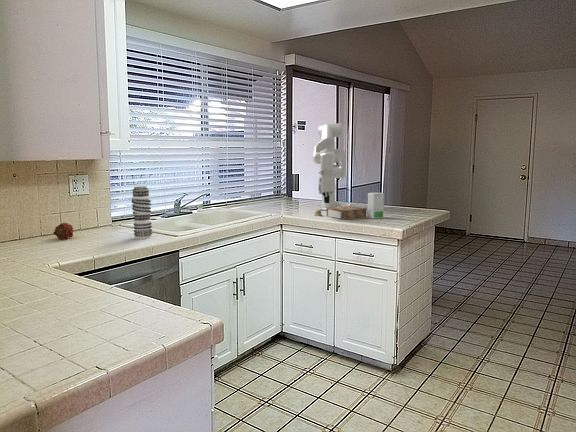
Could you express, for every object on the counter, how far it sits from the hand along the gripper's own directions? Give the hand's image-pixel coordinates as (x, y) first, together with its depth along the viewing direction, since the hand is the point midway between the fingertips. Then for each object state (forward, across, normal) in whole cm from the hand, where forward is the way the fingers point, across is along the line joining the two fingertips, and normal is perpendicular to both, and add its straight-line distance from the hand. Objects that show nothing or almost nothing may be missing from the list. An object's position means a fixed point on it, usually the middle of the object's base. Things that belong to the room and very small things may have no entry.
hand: (326, 202), depth 282 cm
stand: (+10, +2, +13) cm, 17 cm away
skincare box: (+10, +26, -15) cm, 32 cm away
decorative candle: (+7, -112, -1) cm, 112 cm away
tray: (+10, +12, -1) cm, 16 cm away
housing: (+10, +14, -1) cm, 17 cm away
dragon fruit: (+6, -146, +17) cm, 147 cm away
